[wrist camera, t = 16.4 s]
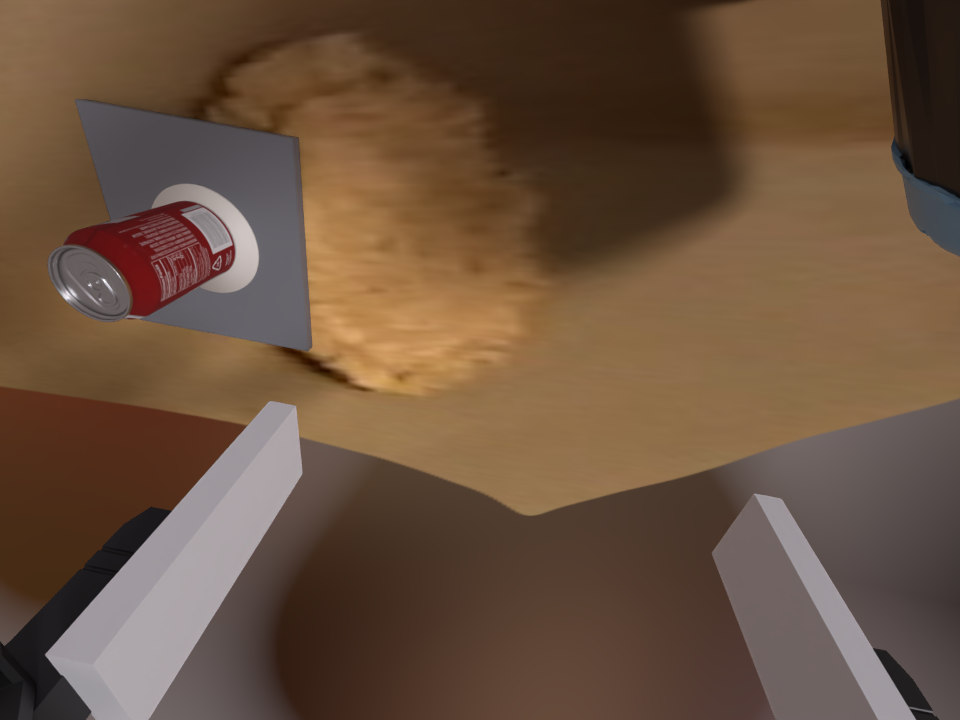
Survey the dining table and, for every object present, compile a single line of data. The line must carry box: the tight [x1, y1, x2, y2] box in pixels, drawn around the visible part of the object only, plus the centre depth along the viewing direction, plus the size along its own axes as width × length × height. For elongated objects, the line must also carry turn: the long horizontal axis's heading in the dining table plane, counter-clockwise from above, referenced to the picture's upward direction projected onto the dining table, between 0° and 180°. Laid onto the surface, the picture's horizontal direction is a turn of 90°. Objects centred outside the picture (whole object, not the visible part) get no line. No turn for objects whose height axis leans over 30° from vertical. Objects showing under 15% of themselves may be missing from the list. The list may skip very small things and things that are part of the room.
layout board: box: [75, 99, 312, 351], centre depth 40 cm, size 20×18×1 cm
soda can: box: [48, 201, 236, 322], centre depth 34 cm, size 7×7×12 cm
